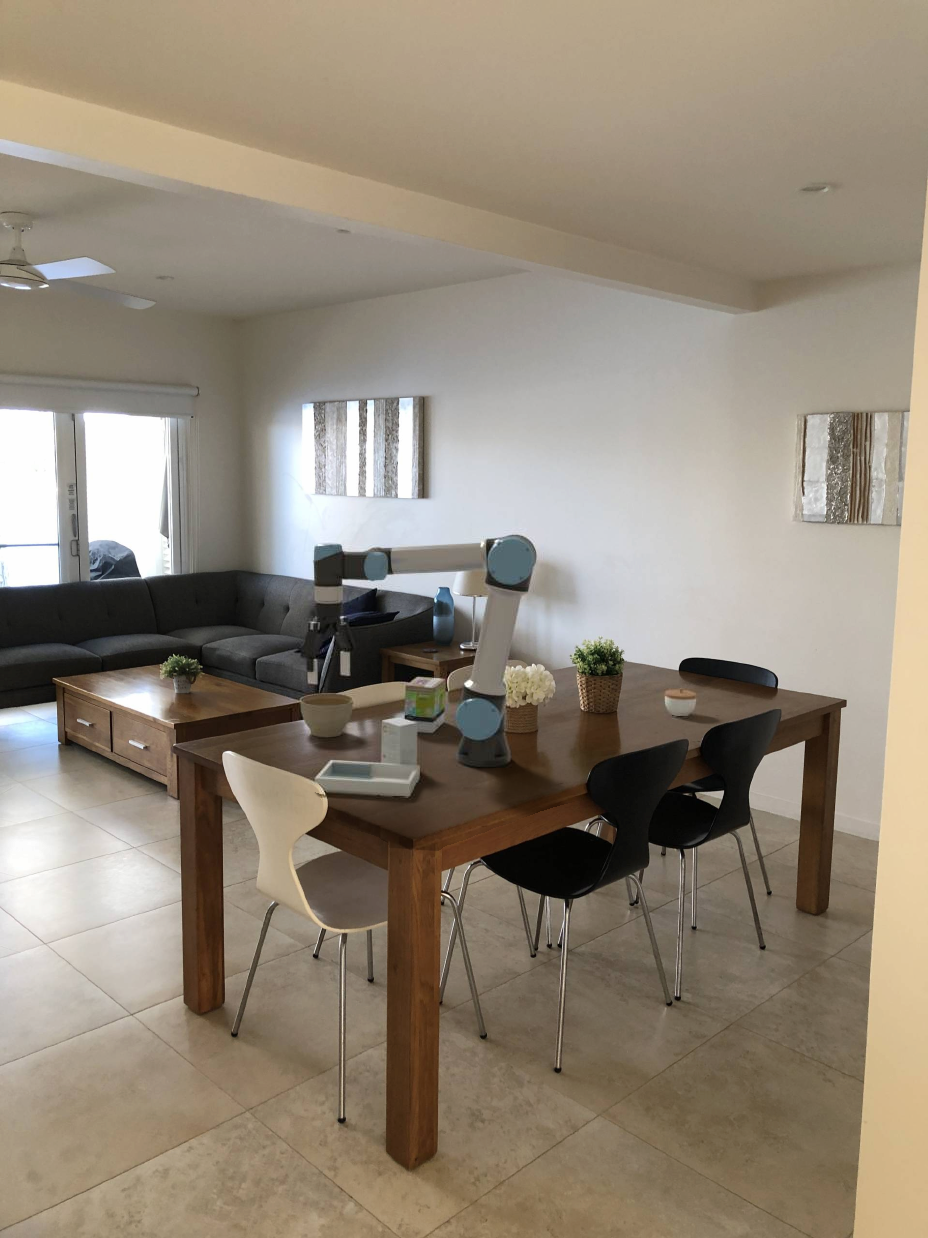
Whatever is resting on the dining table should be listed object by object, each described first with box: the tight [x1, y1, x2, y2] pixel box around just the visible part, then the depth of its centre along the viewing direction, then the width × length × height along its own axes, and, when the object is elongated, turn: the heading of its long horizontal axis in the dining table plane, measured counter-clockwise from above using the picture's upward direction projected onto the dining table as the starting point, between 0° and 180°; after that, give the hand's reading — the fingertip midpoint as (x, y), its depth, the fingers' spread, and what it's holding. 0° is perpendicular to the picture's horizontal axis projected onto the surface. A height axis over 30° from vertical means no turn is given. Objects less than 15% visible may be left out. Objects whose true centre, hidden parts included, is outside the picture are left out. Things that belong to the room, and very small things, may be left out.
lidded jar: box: [664, 687, 698, 717], centre depth 336 cm, size 11×11×9 cm
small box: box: [380, 717, 418, 765], centre depth 268 cm, size 8×6×13 cm
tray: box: [314, 759, 421, 798], centre depth 253 cm, size 24×16×4 cm, turn 83°
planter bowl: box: [299, 692, 354, 738], centre depth 300 cm, size 16×16×11 cm
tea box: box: [403, 676, 447, 734], centre depth 312 cm, size 15×10×15 cm, turn 168°
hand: (329, 679), depth 266 cm, fingers open, 13 cm apart
